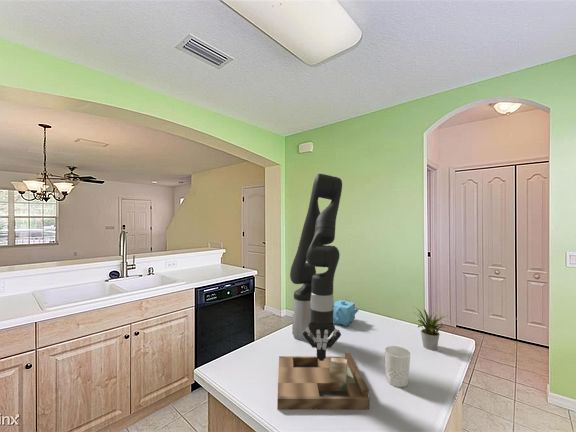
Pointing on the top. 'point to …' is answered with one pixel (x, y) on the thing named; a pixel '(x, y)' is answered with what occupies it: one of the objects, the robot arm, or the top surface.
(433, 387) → the top surface
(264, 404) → the top surface
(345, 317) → the teapot
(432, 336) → the house plant
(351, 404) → the box
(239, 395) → the top surface
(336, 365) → the birch block
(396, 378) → the white cup
